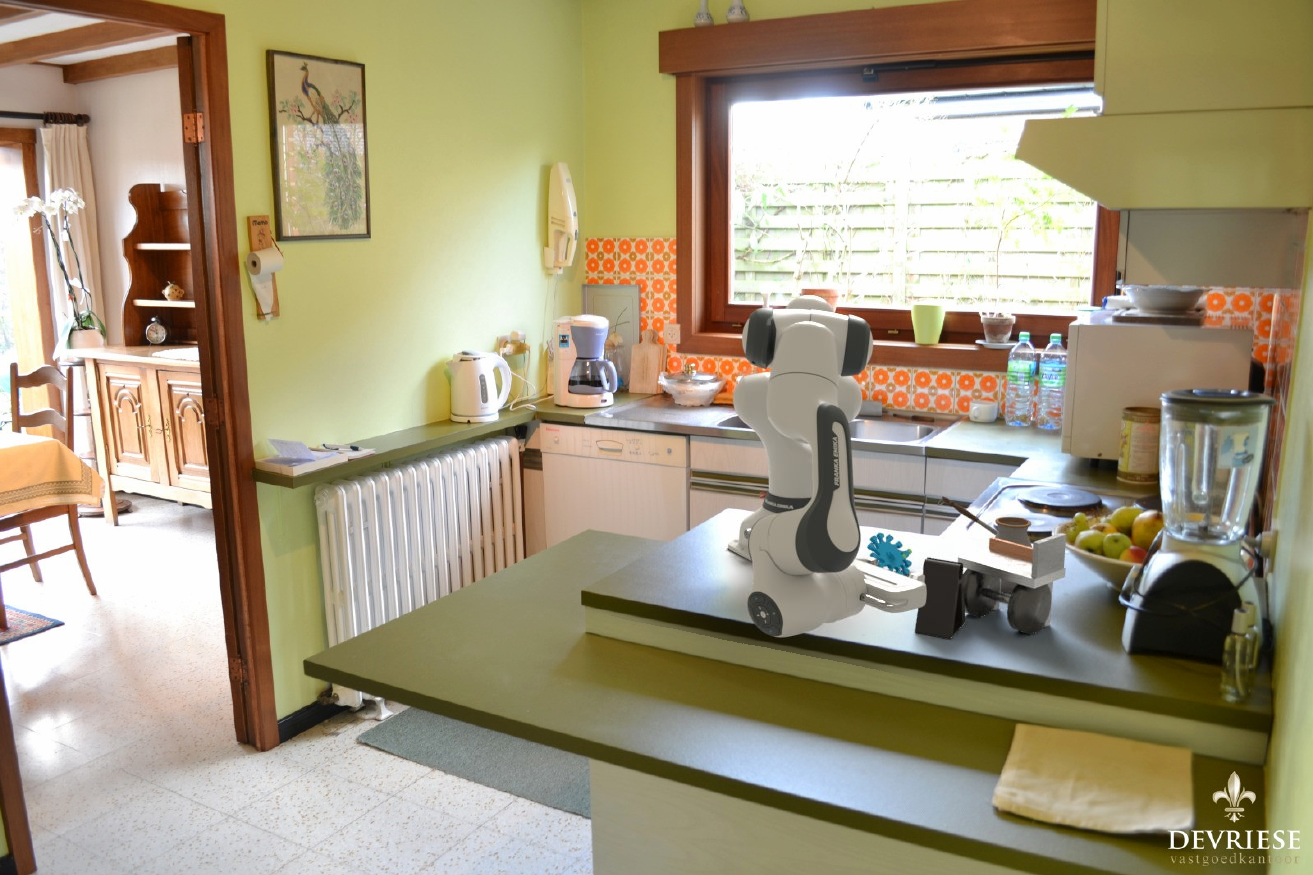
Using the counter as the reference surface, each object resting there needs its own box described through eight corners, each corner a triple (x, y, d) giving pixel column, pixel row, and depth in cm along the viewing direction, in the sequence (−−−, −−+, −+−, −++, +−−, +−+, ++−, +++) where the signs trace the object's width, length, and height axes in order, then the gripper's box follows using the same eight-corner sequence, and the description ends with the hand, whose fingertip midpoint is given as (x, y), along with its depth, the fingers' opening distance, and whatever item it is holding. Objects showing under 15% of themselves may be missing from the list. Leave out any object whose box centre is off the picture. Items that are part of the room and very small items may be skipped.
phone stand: (949, 640, 169) (952, 571, 166) (914, 632, 172) (917, 565, 170) (965, 622, 176) (969, 556, 174) (931, 616, 179) (934, 551, 177)
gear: (884, 576, 195) (863, 531, 200) (866, 591, 199) (846, 546, 204) (925, 573, 201) (904, 530, 206) (907, 587, 205) (886, 545, 210)
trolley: (949, 616, 179) (954, 525, 176) (985, 602, 185) (990, 514, 182) (1025, 642, 167) (1031, 545, 164) (1061, 627, 174) (1068, 533, 170)
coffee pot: (1052, 586, 194) (1057, 510, 191) (1023, 601, 186) (1028, 522, 183) (951, 561, 209) (955, 490, 206) (921, 574, 201) (924, 501, 198)
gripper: (892, 589, 148) (951, 568, 156) (792, 553, 164) (851, 536, 172) (890, 630, 149) (949, 607, 157) (791, 590, 165) (850, 571, 173)
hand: (897, 570), depth 165 cm, fingers open, 8 cm apart
